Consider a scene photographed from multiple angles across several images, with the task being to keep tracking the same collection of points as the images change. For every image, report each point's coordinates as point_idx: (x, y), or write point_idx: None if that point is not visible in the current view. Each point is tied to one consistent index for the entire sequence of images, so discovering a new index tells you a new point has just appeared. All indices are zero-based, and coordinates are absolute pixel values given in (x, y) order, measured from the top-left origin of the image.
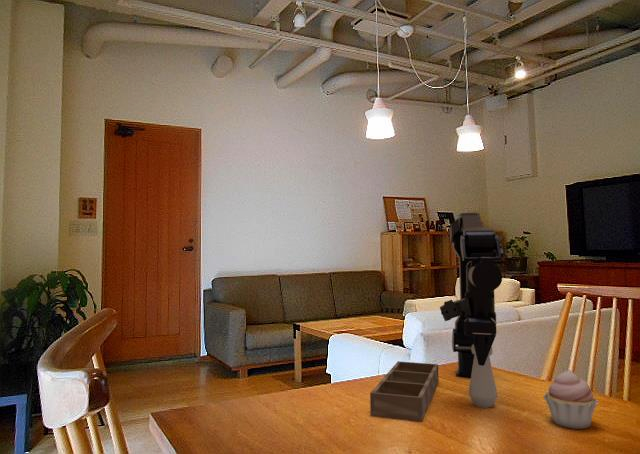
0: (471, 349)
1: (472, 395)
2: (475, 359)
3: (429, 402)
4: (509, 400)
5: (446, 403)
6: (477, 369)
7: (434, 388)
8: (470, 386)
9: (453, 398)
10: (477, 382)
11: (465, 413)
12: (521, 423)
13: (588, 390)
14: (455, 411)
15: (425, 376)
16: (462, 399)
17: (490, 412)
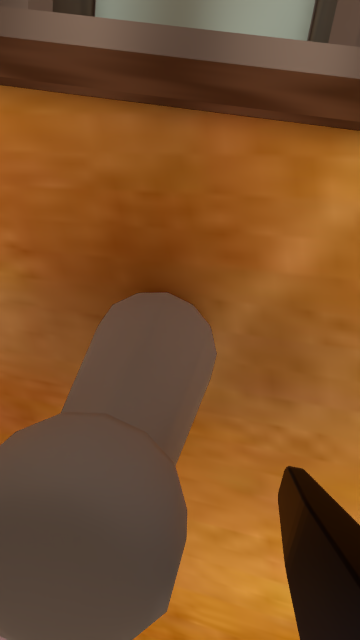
0: (86, 429)
1: (115, 303)
2: (83, 405)
3: (120, 97)
4: (236, 436)
5: (150, 185)
6: (76, 379)
7: (332, 120)
8: (133, 306)
9: (230, 222)
10: (90, 346)
11: (44, 257)
12: (4, 419)
13: None
14: (56, 219)
15: (328, 17)
16: (221, 261)
17: (81, 348)
